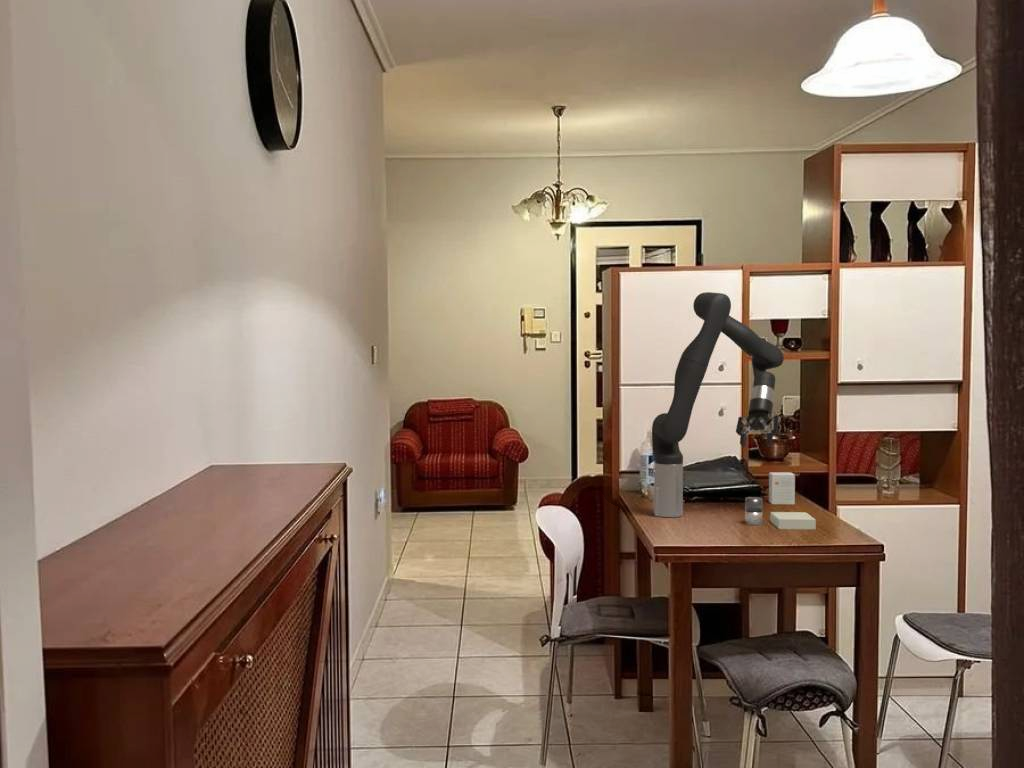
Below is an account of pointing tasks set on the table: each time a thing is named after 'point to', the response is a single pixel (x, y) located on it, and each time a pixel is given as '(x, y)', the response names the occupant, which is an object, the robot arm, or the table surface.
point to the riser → (793, 520)
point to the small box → (781, 488)
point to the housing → (753, 511)
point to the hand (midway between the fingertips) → (755, 445)
